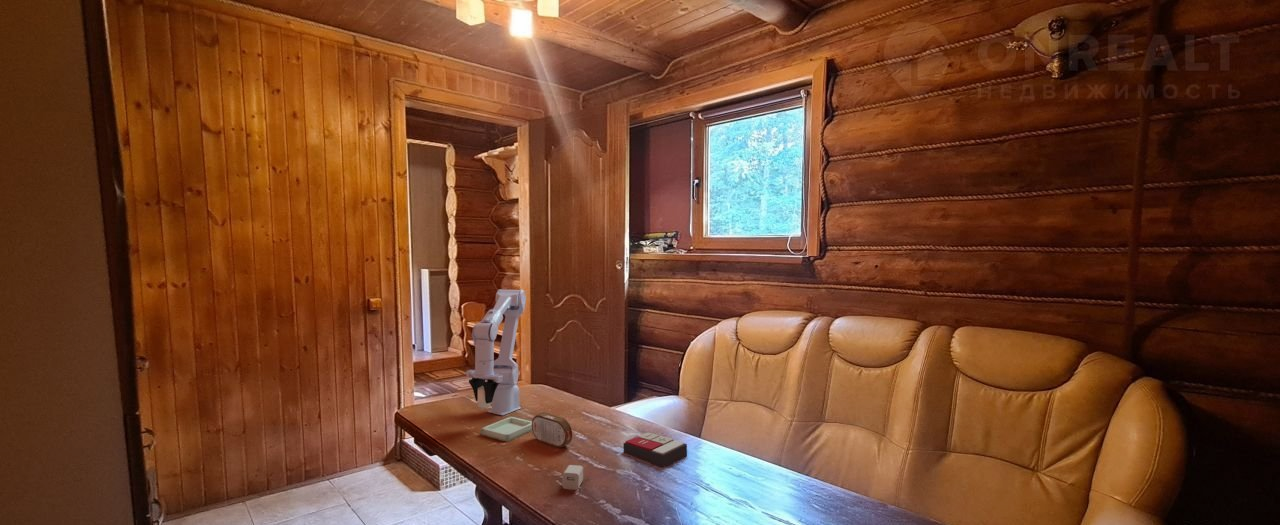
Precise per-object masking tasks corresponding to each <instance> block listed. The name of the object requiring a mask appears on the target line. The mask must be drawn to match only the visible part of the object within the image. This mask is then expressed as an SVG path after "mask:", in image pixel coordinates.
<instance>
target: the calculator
mask: <svg viewBox="0 0 1280 525" xmlns="http://www.w3.org/2000/svg"><path fill="white" fill-rule="evenodd" d="M622 445H623V453H624V452H625V453H624V454H628V455H629V454H630V455H629V456H632V457H634V456H635V458H637V459H639V460H642V459H643V461H646V462H648V463H650V464H653V465H654V466H658V467H660V468H663V469H664V468H666V467H668V466H670V465H672V464H674V463H676V462H678V461H681V460H682V459H684V458H686V457H688V444H687V443H685V442H683V441H681V440H676V439H675V440H674V439H673V438H672V437H671V438H670V437H667V436H662V435H659V434H656V433H651V432H645V433H643V434H640V435H637V437H636V436H635V437H633V438H629V439H627V440H625V442H624V443H623V444H622Z"/></svg>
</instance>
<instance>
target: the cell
mask: <svg viewBox="0 0 1280 525" xmlns="http://www.w3.org/2000/svg"><path fill="white" fill-rule="evenodd" d="M490 407H491V403H486V401H485V390H484V387H483V386H481V387H479V388H478V401H477V408H478V409H488V408H490Z"/></svg>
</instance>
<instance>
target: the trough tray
mask: <svg viewBox="0 0 1280 525" xmlns="http://www.w3.org/2000/svg"><path fill="white" fill-rule="evenodd" d="M529 432H533V431H532V420H529V419H528V420H527V419H524V418H523V419H522V418H519V417H515V416H509V417H507V418H504V419H501V420H499V421H496V422H493V423H491V424H489V425H486V426H484V427H481V428H480V435H481V436H485V437H488V438H491V439H495V440H497V441H498V440H499V441H502V442H506V443H508V442H510V441H511V440H514V439H516V438H518V437H521V436H523V435H525V434H528V433H529Z"/></svg>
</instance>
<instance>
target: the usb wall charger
mask: <svg viewBox="0 0 1280 525" xmlns="http://www.w3.org/2000/svg"><path fill="white" fill-rule="evenodd" d="M583 480H584V467H583V466H582V465H576V464H569V465H568V466H567V468H566V469H565V470H564V472H563V474H562V488H563V489H565V490H575V491H577V490H578V489H579V488H580V486H581V484H582V482H583Z"/></svg>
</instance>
